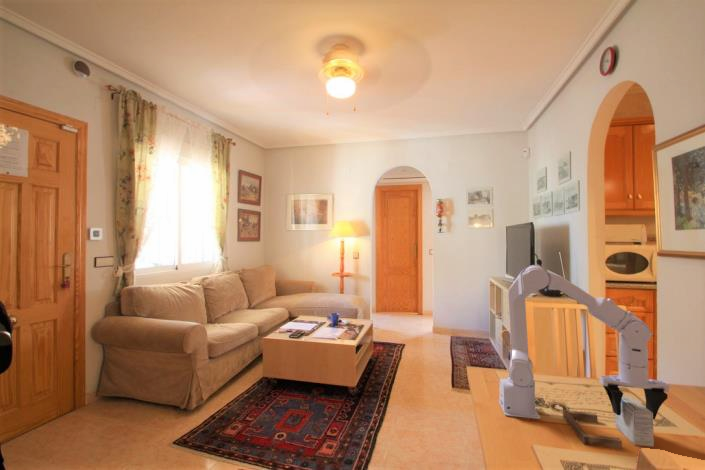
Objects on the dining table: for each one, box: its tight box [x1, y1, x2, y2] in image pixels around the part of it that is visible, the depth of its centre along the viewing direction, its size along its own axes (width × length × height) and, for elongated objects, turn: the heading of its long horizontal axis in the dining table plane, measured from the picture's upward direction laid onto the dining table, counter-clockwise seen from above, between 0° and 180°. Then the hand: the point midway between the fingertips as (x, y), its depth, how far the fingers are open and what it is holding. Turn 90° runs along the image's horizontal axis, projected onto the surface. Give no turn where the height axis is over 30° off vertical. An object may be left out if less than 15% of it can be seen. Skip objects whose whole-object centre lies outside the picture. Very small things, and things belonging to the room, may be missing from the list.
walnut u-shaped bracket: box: [562, 409, 623, 450], centre depth 84 cm, size 8×12×2 cm, turn 167°
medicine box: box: [614, 396, 655, 448], centre depth 82 cm, size 8×4×9 cm, turn 167°
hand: (633, 414), depth 82 cm, fingers open, 7 cm apart
